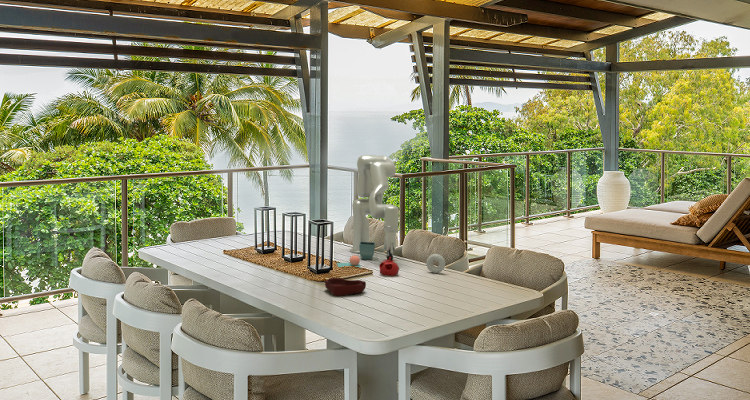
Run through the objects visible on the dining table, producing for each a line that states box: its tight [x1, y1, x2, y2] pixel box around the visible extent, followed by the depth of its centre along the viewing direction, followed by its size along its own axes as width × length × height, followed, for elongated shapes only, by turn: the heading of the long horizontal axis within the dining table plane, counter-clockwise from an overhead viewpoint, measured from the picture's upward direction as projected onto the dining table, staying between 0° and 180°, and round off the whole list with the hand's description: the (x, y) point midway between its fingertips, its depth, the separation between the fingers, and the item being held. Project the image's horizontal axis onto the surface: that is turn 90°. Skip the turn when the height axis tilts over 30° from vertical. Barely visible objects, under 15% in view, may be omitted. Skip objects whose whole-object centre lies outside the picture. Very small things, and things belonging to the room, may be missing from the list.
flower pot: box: [359, 241, 376, 261], centre depth 373 cm, size 9×9×9 cm
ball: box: [349, 254, 361, 266], centre depth 353 cm, size 6×6×6 cm
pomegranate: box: [378, 257, 400, 277], centre depth 333 cm, size 10×10×9 cm
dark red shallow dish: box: [324, 277, 367, 297], centre depth 292 cm, size 18×16×5 cm
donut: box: [425, 253, 446, 274], centre depth 341 cm, size 10×4×10 cm, turn 69°
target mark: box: [336, 262, 362, 269], centre depth 353 cm, size 12×12×1 cm
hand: (389, 263), depth 356 cm, fingers closed
